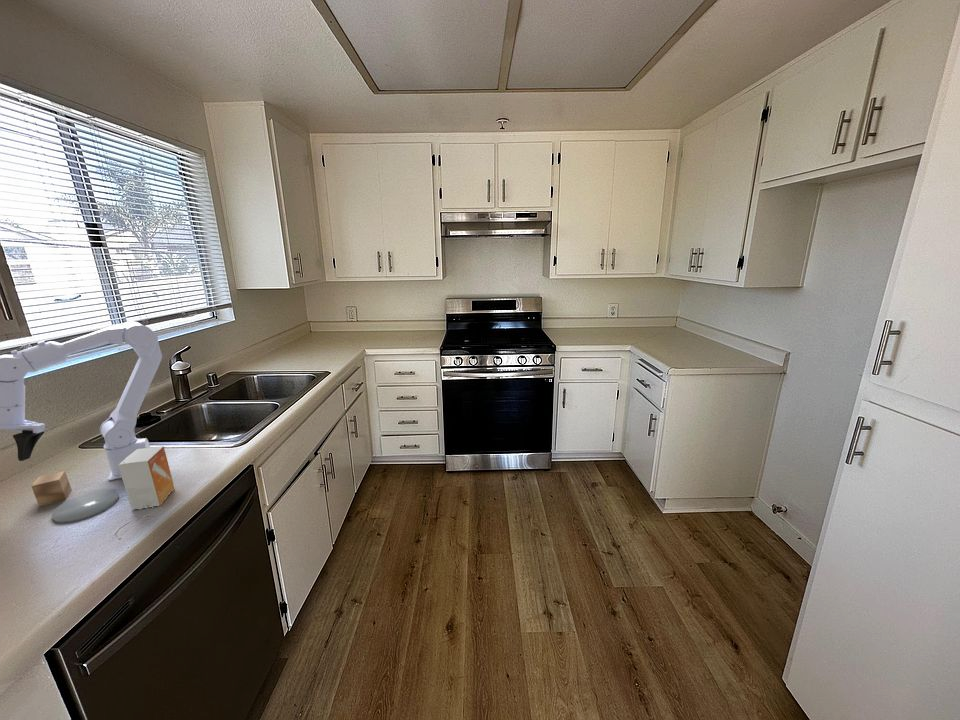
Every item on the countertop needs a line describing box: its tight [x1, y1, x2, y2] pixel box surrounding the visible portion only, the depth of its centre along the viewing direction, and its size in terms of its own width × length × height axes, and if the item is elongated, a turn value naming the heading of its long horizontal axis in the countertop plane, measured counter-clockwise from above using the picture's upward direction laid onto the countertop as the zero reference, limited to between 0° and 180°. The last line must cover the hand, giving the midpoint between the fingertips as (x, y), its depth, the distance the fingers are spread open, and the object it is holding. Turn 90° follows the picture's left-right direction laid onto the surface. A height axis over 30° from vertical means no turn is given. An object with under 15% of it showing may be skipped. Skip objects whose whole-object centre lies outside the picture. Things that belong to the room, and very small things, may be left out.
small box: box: [118, 445, 175, 511], centre depth 100 cm, size 8×6×13 cm
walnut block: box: [31, 470, 72, 507], centre depth 103 cm, size 5×5×6 cm
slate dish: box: [51, 488, 120, 524], centre depth 99 cm, size 12×12×1 cm
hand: (6, 458), depth 97 cm, fingers open, 7 cm apart
